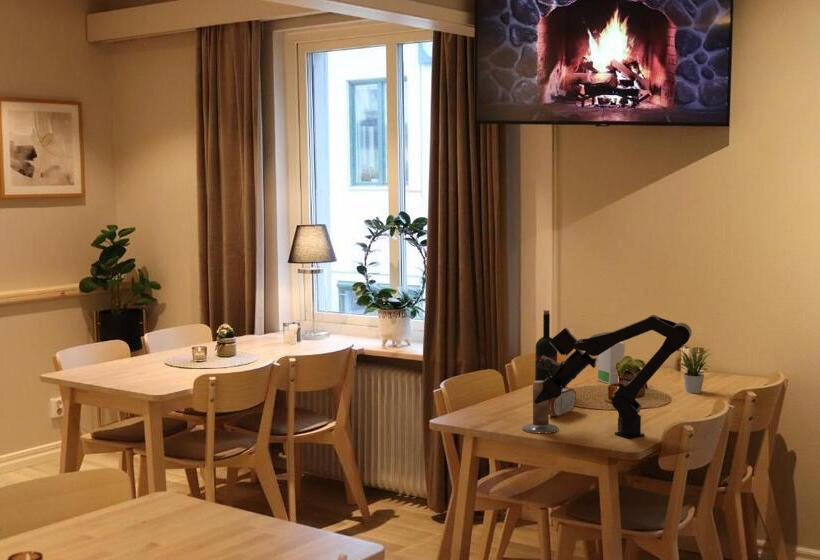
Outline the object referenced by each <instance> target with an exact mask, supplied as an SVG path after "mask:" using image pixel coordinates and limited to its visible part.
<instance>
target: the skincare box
mask: <svg viewBox="0 0 820 560" xmlns="http://www.w3.org/2000/svg"><path fill="white" fill-rule="evenodd" d="M625 343H626V342H624V341H622V342H620V343H617V344H615V345H614V346H612V347H611V348H609V349H608V350H606V351H604V352H603V353H601V354H599V355H598V356H597V376H596V377H597V378H596V379H597V381H600V382H602V383H605V384H608V385H616V384H617V385H618V384H619V383H618V374H617V370H616V364H617V363H618V362H619V361H621V359H623V358H624V359H625V345H626V344H625Z"/></svg>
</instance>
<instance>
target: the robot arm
mask: <svg viewBox="0 0 820 560" xmlns="http://www.w3.org/2000/svg"><path fill="white" fill-rule="evenodd" d="M650 331H653V332H655V333H657V334H659V335H661V336H663V337H665V340H664V341H663V343H662V345H661V346H660V347H659V349H658V350H656V352H655V353H654V354H653V355H652V357H651V358H650V359H649V360H648V361H647V363H645V365H643V367H642V368H641V369H640V371H639V372H638V373H637V374H636V375H635V376H634V378H633V379H631V380H630V381H628V382H627V381H626V380H625V379H623V383H620V386H618V387H617V388H616V389H615V390H614V391H613V393H612V394H613V397H612V399H611V402H612V403H611V405H612V407H613V408H614V409H615V410H616V411H617V412H618V418H617V431H615V432H614V435H617V436H621V437H623V438H626V439H631V438H632V439H633V438H639V437H644V436H645V435H646V434H645V433H643V432H641V431H642V430H641V429H642V427H641V426H642V425H641V424H642V416H641V415H640V411H641V410H642V405H641V404H640V403H639V402H638V401H637V400H636V399H637V397H638V395H639V394H640V392H641V390H642V388H643V387H644V386H646V384H647V383H648V382H649V380H650V379H651V378H652V377H653V376H654V375H655V373H657V371H658V370H659V369H660V368H661V367H662V365H664V364H665V362H666V361H667V360H668V359H669V357H670V356H672V355H673V354H674V353H676V352H677V351H678V350H680V349H681V348H682V347H683V346H685V345H686V344H687V343H688V342H689V341H690V338H691V336H692V328H691V327H690V325H688V324H687V323H685V322H678V323H677V322H674V321H672V320H669V319H665V318H663V317H660V316H658V315H656V314H652V315H649V316H648V317H646V318H643V319H641V320H639V321H636V322H633V323H631V324H629V325H625V326H624V327H620V328H618V329H615V330H612V331H607V332H600V333H596V334H593V335H591V336H589V337H588V338H580V339H577V338H576V337H575V336H574V335H573V334H572V333H571V331H570V330H569V329H568V328H567V327H564V328H563V329H562V330H561V331H560V332H559V333H557V334H555V336H554V337H552V340H551V341H550V342H549V343H550V344H551V345H552V346H553V347H554V348H555V349H556V350H557V353H559V354H560V355H561V356H566V357H567V356H568V357H567V358H566V359H565V360H562V361H561V362H558V361H557V362H556V361H554V360H552V359H550V358H548V357H546V356H544V355H543V356H542V357H541V359H540V362H539V364H538V367H539V368H541V369H544V370H546V371H548V372H549V375H551V376H550V377H549V376H548V375H547V377H546V379H545V381H543V383H542V384H543V389H542V391H541V392H540V394H539V395H538V396H537V398H536V399H535V401H534V402H535V403H536V404H538V403H541V402H543V401H546V400H549V399H552V398H558V397H559V396H560V395H561V394H562V392H563V388H565V387H568V385H569V383H571V382H572V381H573V380H575V379H576V378H577V377H578V376H579V375H580V373H582V372H583V370H585V369H586V368H587V367H588V366H591V368H594V369H595V368H596V367H597V361H598V355H599V354H601V353H603V352H604V351H606V350H608V349H609V348H611V347H612V346H614V345H615V344H617V343H620V342H624V341H627V340H629V339H632V338H635V337H638V336H640V335H643V334H646V333H648V332H650ZM572 351H573V352H572ZM571 352H572V353H571ZM569 354H570V355H569Z"/></svg>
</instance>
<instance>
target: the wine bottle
mask: <svg viewBox="0 0 820 560" xmlns="http://www.w3.org/2000/svg"><path fill="white" fill-rule="evenodd" d="M550 312H551V311H550V309H549V310H543V314H542V315H543V317H542V318H543V320H542V321H543V324H542V327H543V330H542V331H543V332H542V333H543V334H542V335H543V336H542V337H541V338H539V339H538V340H537V341H536V344H535V367H534V368H535V372H534V374H535V375H534V376H535V377H534V378H535V379H534V381H545V379H546V377H547V375H548V376H549V377H550V376H551V375H549V372H548V371H546V370H544V369H541V368H539V367H538V364H539V362H540V359H541V357H542V356H543V355H544V356H546V357H548V358H550V359H552V360H554V361H556V362H558V351H557V350H556V349H555V348H554V347H553V346H552V345H551V344H550V343H549V342H550V341H551V340H552V339H553V337H551V336H550V333H551V331H550V330H551V329H550V323H551V321H550V320H551V318H550V317H551V316H550Z"/></svg>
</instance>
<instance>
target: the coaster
mask: <svg viewBox="0 0 820 560" xmlns="http://www.w3.org/2000/svg"><path fill="white" fill-rule="evenodd" d="M521 430H522V431H524V430H525V431H524V432H526V431H528V432H527V433H529V432H537V433H538V432H540V433H546V432H547V433H548V432H554V431H557V430H558V431H559V427H558V426H557V425H554V424H550V423H549V424H548V425H545V426H537V425H534V424H533V423H528V424H527V423H526V424H524V425H523V426H522V429H521ZM558 431H557V432H558ZM554 433H555V432H554ZM548 434H549V433H548Z"/></svg>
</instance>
